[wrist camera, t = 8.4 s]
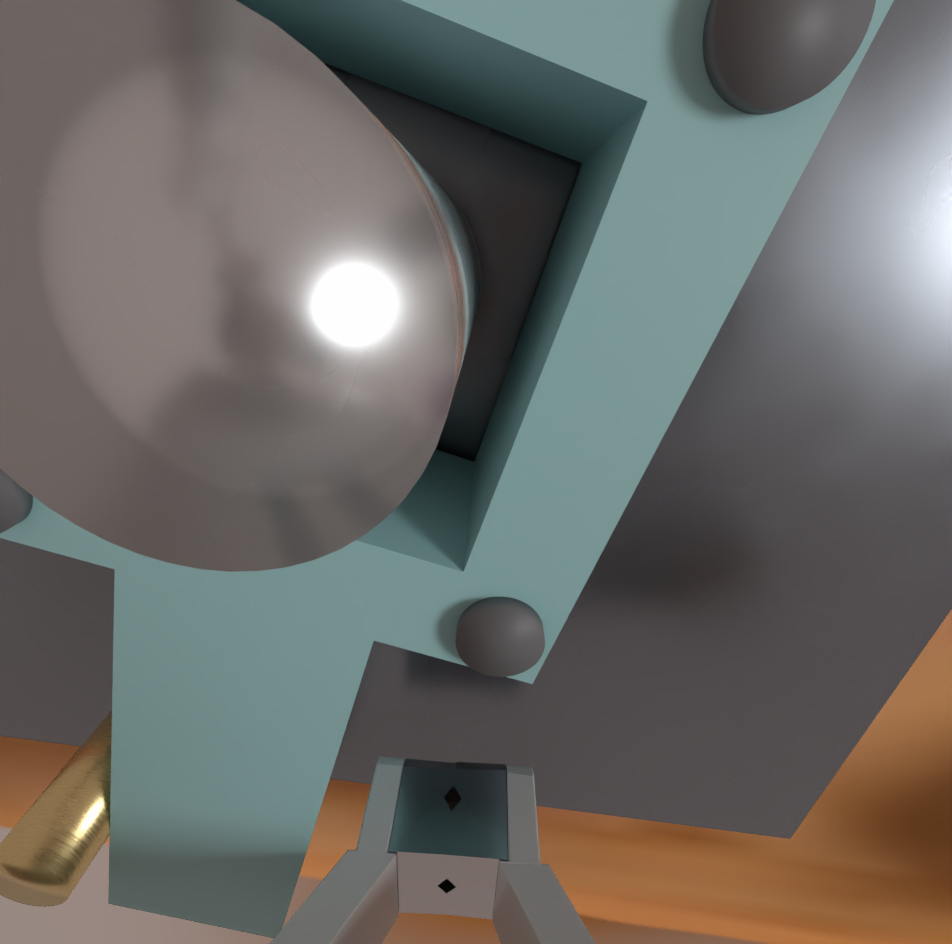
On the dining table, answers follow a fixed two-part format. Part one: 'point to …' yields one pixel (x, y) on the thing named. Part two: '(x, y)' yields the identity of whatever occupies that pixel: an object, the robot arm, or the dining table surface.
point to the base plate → (456, 410)
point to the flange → (508, 432)
